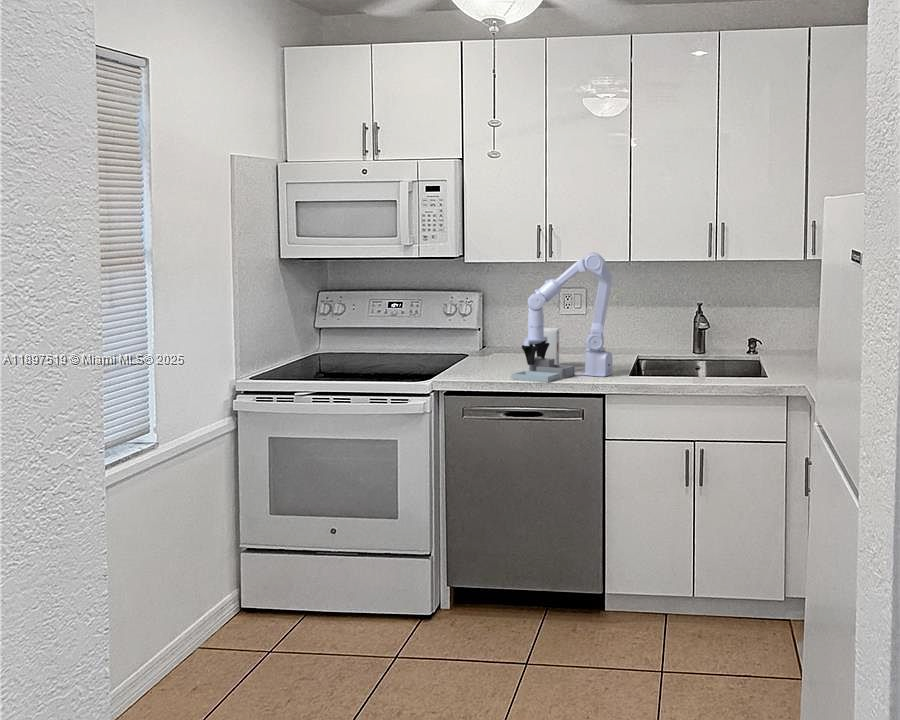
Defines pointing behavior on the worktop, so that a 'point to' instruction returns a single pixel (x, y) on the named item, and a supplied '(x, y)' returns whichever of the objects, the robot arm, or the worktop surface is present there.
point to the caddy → (542, 363)
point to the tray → (535, 376)
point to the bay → (558, 370)
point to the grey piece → (552, 344)
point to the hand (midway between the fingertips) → (535, 363)
